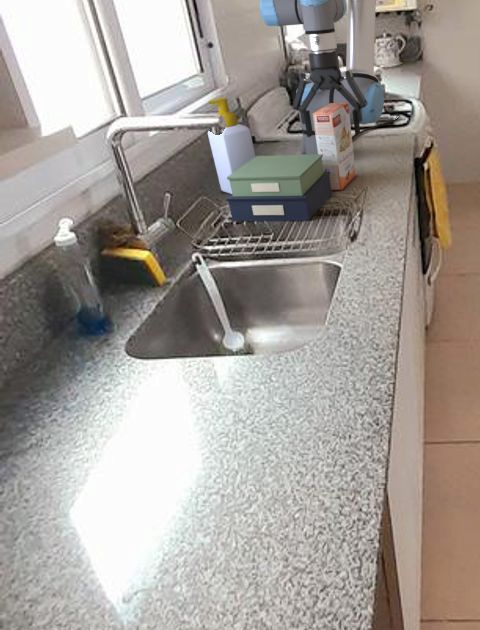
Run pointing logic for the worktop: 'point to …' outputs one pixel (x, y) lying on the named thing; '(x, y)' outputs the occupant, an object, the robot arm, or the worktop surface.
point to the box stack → (279, 188)
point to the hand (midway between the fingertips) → (333, 135)
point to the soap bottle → (230, 145)
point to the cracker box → (335, 143)
